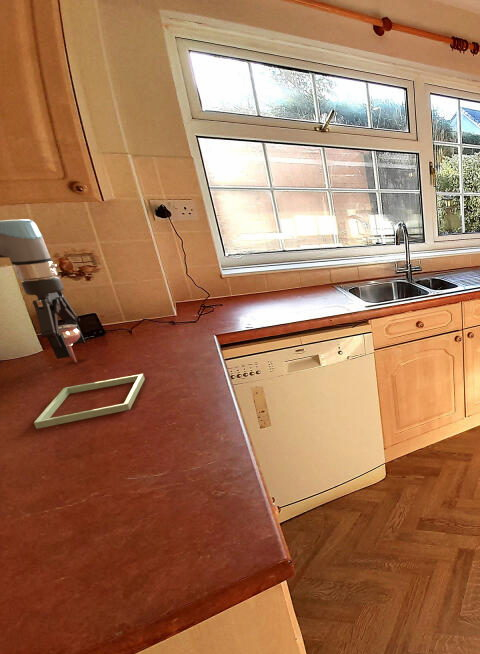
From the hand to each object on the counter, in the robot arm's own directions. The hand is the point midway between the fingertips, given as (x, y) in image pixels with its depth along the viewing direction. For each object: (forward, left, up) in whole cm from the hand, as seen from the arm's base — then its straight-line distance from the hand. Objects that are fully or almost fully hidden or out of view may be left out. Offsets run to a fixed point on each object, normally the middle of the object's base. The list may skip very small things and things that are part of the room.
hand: (72, 350), depth 124 cm
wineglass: (0, 0, -5) cm, 5 cm away
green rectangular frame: (+12, -36, -5) cm, 38 cm away
